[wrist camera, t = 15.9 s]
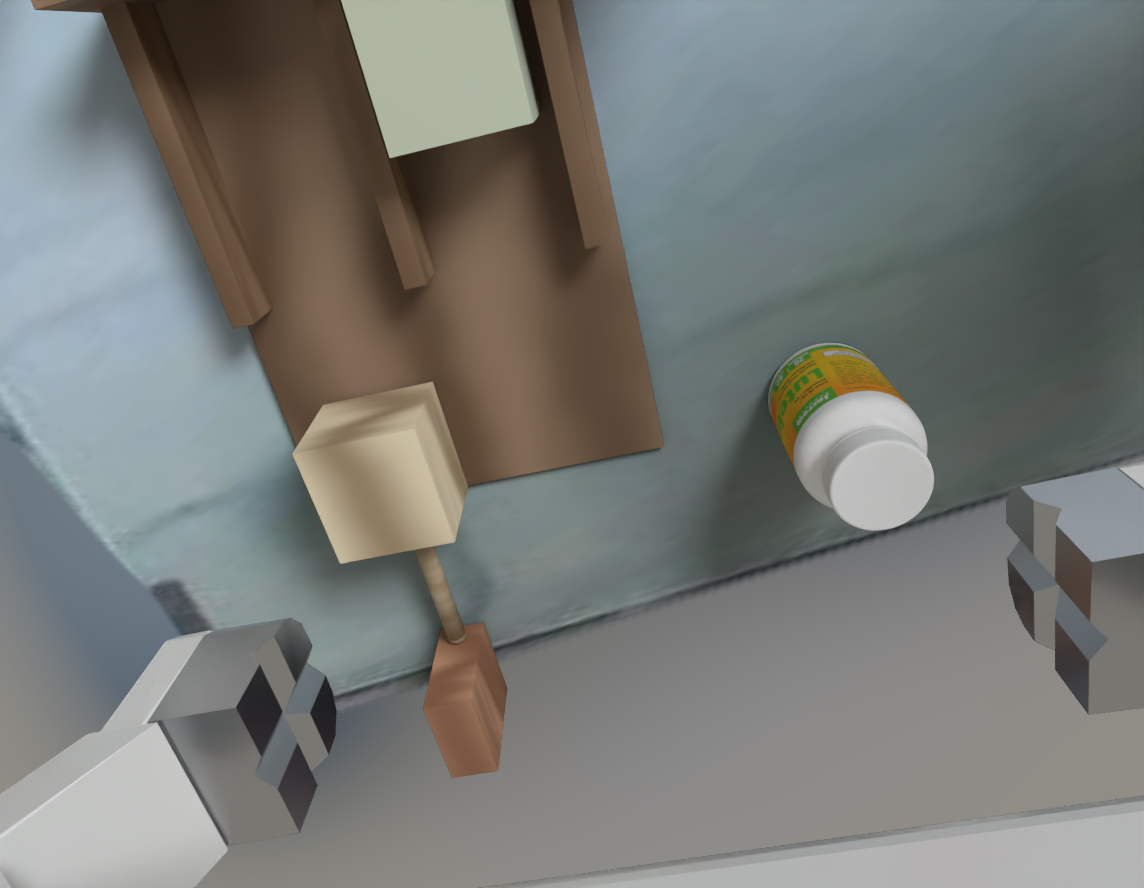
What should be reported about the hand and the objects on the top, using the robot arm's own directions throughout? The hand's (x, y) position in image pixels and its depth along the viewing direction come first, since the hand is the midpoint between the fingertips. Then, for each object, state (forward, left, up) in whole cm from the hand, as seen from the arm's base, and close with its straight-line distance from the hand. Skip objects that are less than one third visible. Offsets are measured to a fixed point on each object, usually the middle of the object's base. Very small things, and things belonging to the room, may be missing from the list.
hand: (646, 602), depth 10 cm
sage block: (+5, -7, -31) cm, 32 cm away
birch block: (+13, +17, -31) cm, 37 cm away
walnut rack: (+9, 0, -31) cm, 32 cm away
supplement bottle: (-8, +12, -31) cm, 34 cm away
